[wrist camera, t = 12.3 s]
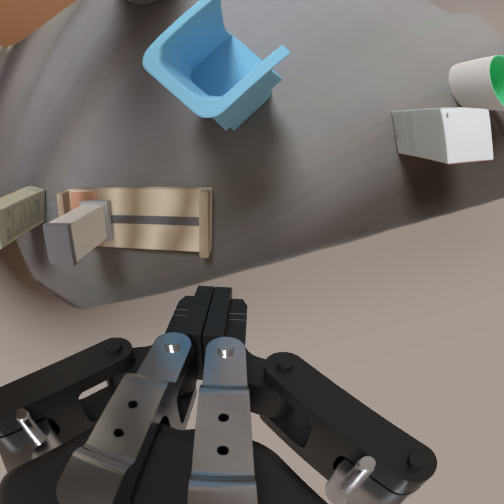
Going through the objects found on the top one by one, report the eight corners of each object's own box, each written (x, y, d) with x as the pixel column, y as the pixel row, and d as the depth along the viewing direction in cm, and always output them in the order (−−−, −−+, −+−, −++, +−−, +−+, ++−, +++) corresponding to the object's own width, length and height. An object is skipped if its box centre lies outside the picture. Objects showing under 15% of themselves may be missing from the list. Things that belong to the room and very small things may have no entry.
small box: (397, 153, 37) (446, 165, 25) (390, 111, 35) (439, 106, 23) (440, 149, 36) (494, 160, 24) (434, 109, 34) (489, 107, 22)
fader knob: (86, 237, 41) (48, 266, 31) (82, 200, 39) (39, 221, 29) (113, 238, 41) (77, 269, 31) (109, 199, 39) (69, 221, 29)
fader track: (75, 241, 44) (64, 249, 40) (68, 189, 40) (56, 194, 37) (212, 248, 44) (208, 258, 40) (212, 187, 40) (208, 192, 37)
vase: (276, 92, 35) (292, 52, 16) (233, 131, 37) (208, 128, 19) (234, 54, 33) (212, -11, 14) (192, 93, 35) (133, 61, 17)
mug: (498, 87, 31) (538, 86, 21) (494, 126, 34) (535, 132, 24) (450, 55, 30) (489, 44, 20) (445, 97, 33) (487, 94, 24)
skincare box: (29, 184, 40) (-18, 203, 29) (46, 189, 40) (-2, 208, 29) (28, 218, 42) (-16, 242, 31) (44, 224, 43) (0, 250, 31)
